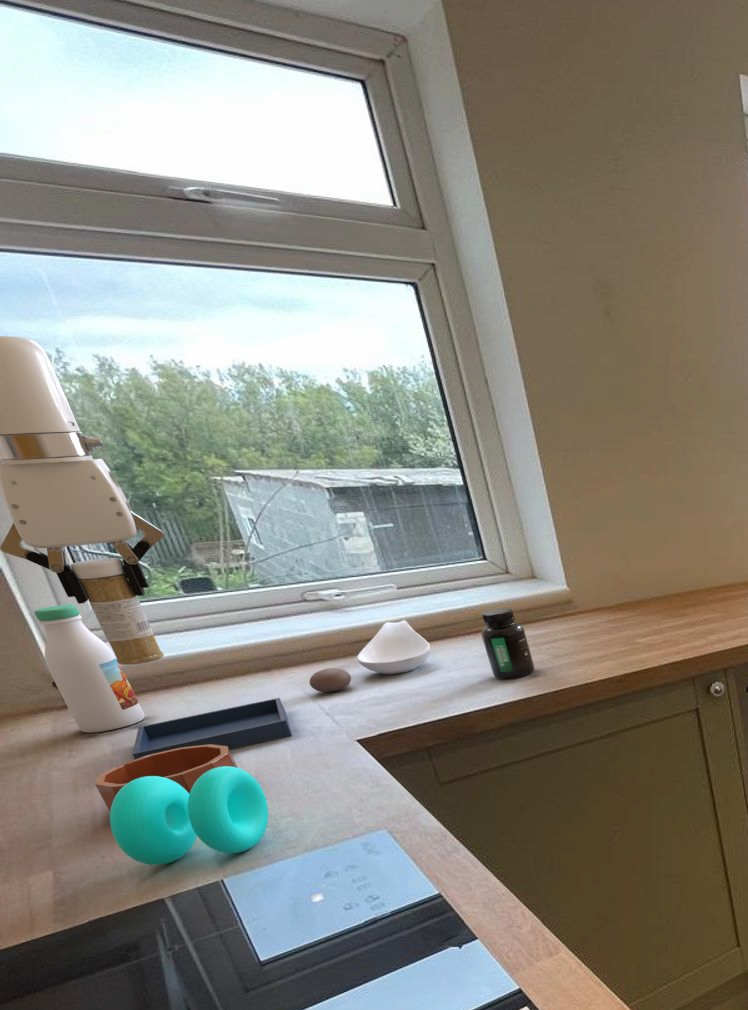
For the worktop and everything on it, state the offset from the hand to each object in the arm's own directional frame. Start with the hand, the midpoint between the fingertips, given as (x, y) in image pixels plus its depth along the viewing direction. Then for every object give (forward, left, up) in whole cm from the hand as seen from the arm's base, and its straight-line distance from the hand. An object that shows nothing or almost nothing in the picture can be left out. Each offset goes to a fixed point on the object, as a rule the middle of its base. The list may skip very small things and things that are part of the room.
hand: (111, 596), depth 105 cm
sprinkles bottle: (0, 0, -9) cm, 9 cm away
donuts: (+2, -33, -26) cm, 42 cm away
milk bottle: (-10, +38, -26) cm, 47 cm away
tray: (+3, +15, -25) cm, 30 cm away
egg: (+19, +30, -26) cm, 44 cm away
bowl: (-1, -10, -25) cm, 27 cm away
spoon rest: (+31, +41, -26) cm, 57 cm away
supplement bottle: (+45, +14, -26) cm, 53 cm away
